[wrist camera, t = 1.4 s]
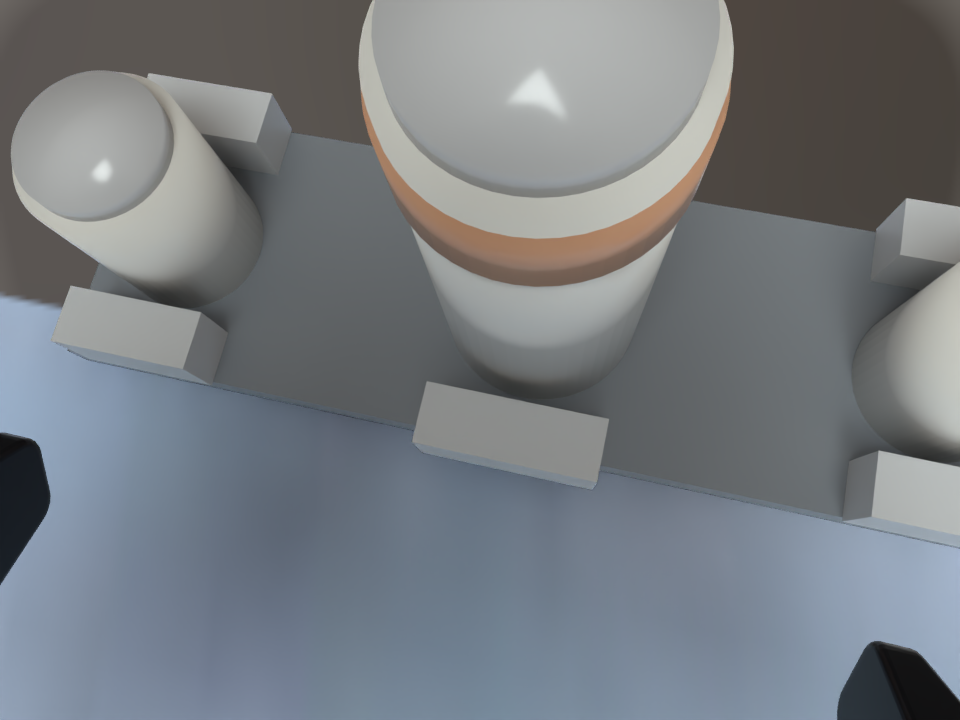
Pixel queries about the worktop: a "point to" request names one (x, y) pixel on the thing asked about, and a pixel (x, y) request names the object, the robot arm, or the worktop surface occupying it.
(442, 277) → the copper banded cylinder
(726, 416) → the block
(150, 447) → the worktop surface
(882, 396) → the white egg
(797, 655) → the worktop surface
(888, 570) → the worktop surface
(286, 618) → the worktop surface
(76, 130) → the small fuse
